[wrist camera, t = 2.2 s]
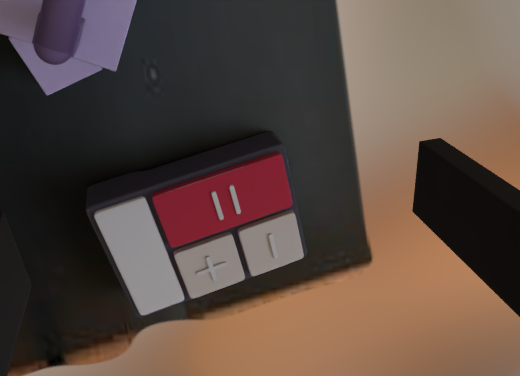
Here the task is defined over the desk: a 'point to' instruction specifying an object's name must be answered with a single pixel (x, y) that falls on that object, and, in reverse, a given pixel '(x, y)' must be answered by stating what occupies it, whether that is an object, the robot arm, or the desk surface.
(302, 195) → the desk surface
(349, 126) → the desk surface
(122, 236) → the calculator
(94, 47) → the iron
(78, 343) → the desk surface
